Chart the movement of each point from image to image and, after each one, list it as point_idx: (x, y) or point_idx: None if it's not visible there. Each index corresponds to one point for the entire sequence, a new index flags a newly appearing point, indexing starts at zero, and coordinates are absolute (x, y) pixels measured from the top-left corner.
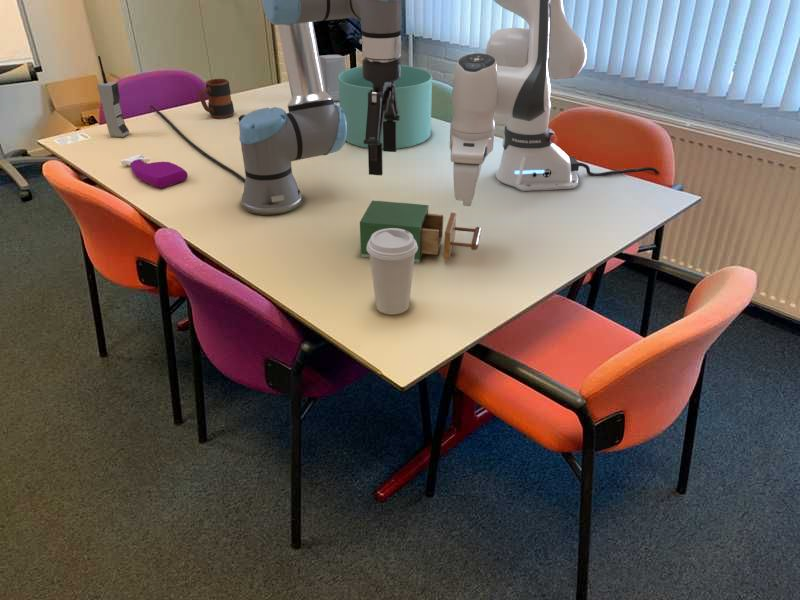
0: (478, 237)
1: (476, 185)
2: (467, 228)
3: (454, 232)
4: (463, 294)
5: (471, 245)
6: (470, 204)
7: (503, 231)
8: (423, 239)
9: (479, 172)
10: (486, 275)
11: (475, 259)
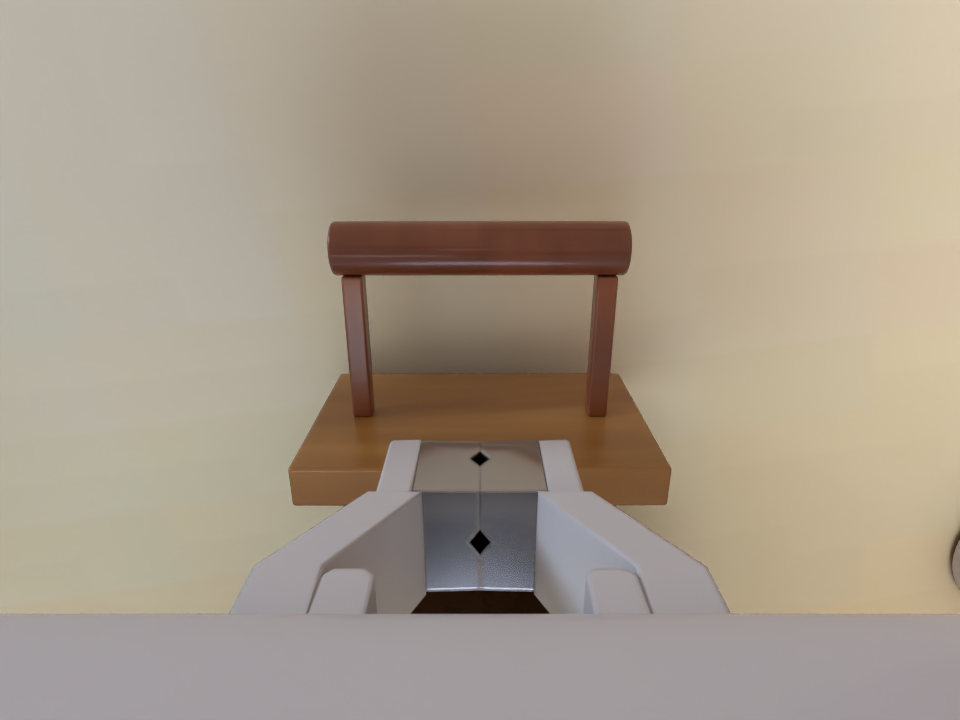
0: (503, 232)
1: (894, 673)
2: (353, 330)
3: (377, 401)
4: (948, 242)
5: (624, 272)
6: (570, 452)
7: (69, 48)
8: None
9: (14, 714)
10: (729, 123)
11: (532, 215)
